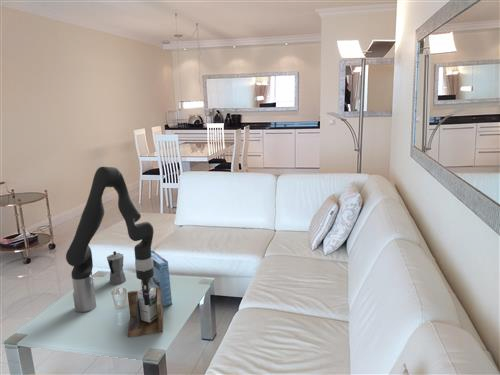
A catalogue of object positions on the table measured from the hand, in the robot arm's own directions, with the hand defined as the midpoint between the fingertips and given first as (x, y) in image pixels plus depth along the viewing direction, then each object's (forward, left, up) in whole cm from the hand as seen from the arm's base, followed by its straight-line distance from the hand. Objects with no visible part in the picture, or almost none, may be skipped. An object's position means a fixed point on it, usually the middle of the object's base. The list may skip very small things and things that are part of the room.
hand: (147, 300), depth 178 cm
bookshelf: (-2, 0, -12) cm, 12 cm away
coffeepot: (-20, +50, -12) cm, 55 cm away
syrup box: (0, 0, -9) cm, 9 cm away
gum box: (+4, +24, -12) cm, 27 cm away
